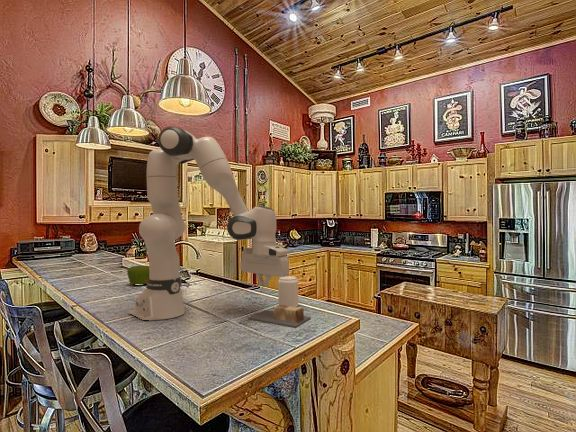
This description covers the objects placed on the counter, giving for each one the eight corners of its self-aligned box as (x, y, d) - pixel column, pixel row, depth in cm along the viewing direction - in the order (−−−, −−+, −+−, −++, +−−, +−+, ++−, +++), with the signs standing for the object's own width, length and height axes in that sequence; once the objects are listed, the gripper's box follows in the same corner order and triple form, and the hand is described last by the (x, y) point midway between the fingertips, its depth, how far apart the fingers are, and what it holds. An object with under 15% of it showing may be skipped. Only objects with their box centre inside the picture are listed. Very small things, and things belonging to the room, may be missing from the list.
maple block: (273, 307, 122) (297, 311, 117) (279, 304, 125) (303, 308, 120) (273, 318, 122) (298, 322, 117) (279, 315, 125) (303, 319, 120)
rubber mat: (248, 319, 123) (248, 317, 123) (265, 311, 133) (265, 309, 133) (295, 328, 113) (295, 326, 113) (310, 318, 122) (310, 317, 122)
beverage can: (302, 306, 139) (301, 277, 139) (289, 310, 133) (288, 280, 133) (288, 303, 145) (287, 275, 145) (274, 307, 139) (274, 277, 139)
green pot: (123, 287, 183) (122, 266, 183) (136, 282, 195) (136, 262, 195) (144, 287, 181) (143, 266, 181) (156, 282, 193) (156, 263, 193)
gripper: (237, 248, 129) (236, 284, 129) (282, 252, 119) (281, 291, 119) (247, 246, 135) (247, 281, 135) (291, 250, 124) (291, 288, 124)
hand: (263, 286), depth 127 cm, fingers closed
